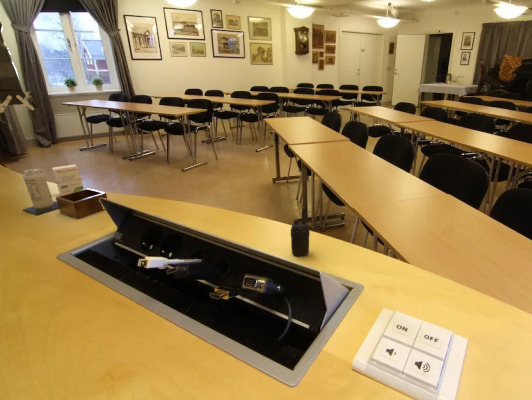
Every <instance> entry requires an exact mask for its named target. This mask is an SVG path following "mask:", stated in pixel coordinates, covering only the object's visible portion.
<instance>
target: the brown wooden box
mask: <svg viewBox="0 0 532 400" xmlns="http://www.w3.org/2000/svg"><path fill="white" fill-rule="evenodd" d="M101 197H102V198H106V199H108V196H107V193H106V192H105V191H100V190H96V189H93V188H89V187H87V188H84V189H83V190H80V191H76V192H73V193H69V194H66V195H62V196H61V195H60V196H59V195H58V196H55V202H57V204H58V207H59V209H58V210H59V213H60V214H62V215H64V216H67V217H70V218H73V217H75V218H74V219H76V218H78V219H77V220H80V219H83V218H86V217H88V215H89V216H91V215H94V214H97V213H100V212H102V211H101V210H103V207H102V205H101V203H100V202H99V198H101ZM99 211H100V212H99ZM103 211H104V210H103ZM96 212H97V213H96ZM93 213H94V214H93ZM90 214H91V215H90ZM85 216H86V217H85ZM82 217H83V218H82ZM79 218H80V219H79Z"/></svg>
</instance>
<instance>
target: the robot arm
mask: <svg viewBox="0 0 532 400" xmlns="http://www.w3.org/2000/svg"><path fill="white" fill-rule="evenodd" d="M2 31H3V24H2V22H1V21H0V122H2V123H3V124H8V123H9V122H8V119H7V116H6V113H5V112H4V111H5V109H6V108H7V107H8V106H14V105H17V106H22V107H24V108H25V109H27V113H28V117H29V119H30V121H36V119H37V115H36V112H35V110H36V109H39V108H40V105H39V102H38V99H37V97H36V94H35V92H34V91H27V92H24V90H23V87H22V84H21V80H20V77H19V73H18V72H17V71H18V70H17V68H16V67H15V64H14V62H13V59H12V56H11V53H10V49H9V48H8V46H6V43H5V40H4V38H3V37H4V36H3V34H2ZM25 98H27V99H29V101H30V103H29V102H28V101H26V100H25Z"/></svg>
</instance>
